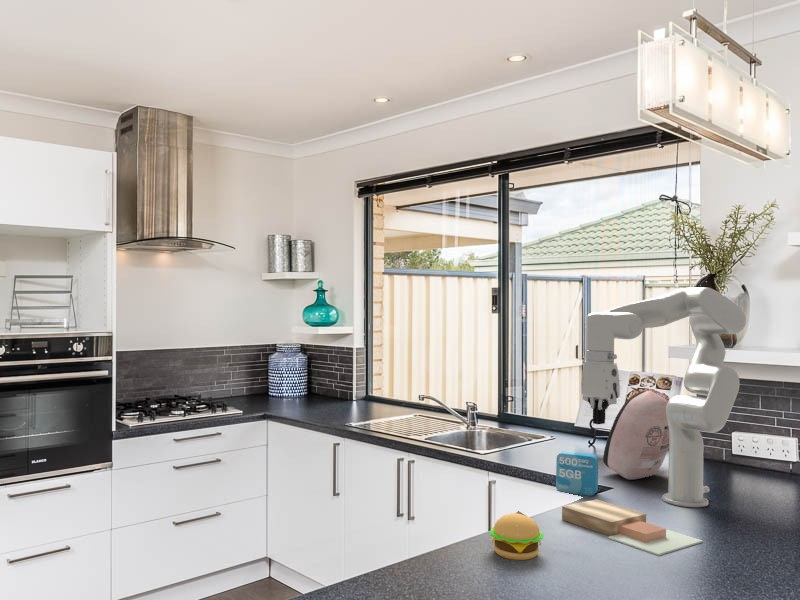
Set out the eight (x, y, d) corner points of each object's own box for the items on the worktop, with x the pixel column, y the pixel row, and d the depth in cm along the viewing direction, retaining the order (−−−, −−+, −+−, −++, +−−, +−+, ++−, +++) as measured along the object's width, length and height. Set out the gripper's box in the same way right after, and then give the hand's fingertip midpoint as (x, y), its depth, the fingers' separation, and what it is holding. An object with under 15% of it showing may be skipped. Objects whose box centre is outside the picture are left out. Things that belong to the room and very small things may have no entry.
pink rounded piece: (634, 468, 247) (636, 385, 248) (683, 480, 231) (685, 391, 232) (594, 475, 235) (596, 387, 236) (643, 488, 219) (645, 394, 219)
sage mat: (652, 526, 179) (652, 525, 179) (702, 542, 167) (702, 540, 167) (608, 538, 168) (608, 536, 168) (658, 555, 157) (658, 553, 157)
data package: (555, 491, 212) (556, 452, 213) (558, 488, 216) (559, 450, 217) (595, 496, 207) (596, 457, 208) (597, 493, 211) (598, 454, 212)
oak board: (596, 511, 191) (596, 499, 191) (646, 527, 178) (646, 513, 178) (561, 519, 183) (562, 506, 183) (611, 536, 170) (611, 522, 170)
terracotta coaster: (638, 528, 176) (638, 520, 176) (666, 537, 169) (666, 529, 169) (618, 533, 171) (618, 525, 171) (645, 542, 165) (645, 534, 165)
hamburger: (511, 540, 165) (512, 504, 165) (553, 554, 156) (554, 516, 156) (478, 551, 157) (479, 513, 157) (521, 567, 148) (522, 526, 148)
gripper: (631, 358, 186) (630, 426, 186) (587, 355, 199) (586, 418, 198) (613, 359, 182) (612, 428, 182) (569, 355, 194) (568, 420, 194)
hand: (598, 423), depth 190 cm, fingers closed
